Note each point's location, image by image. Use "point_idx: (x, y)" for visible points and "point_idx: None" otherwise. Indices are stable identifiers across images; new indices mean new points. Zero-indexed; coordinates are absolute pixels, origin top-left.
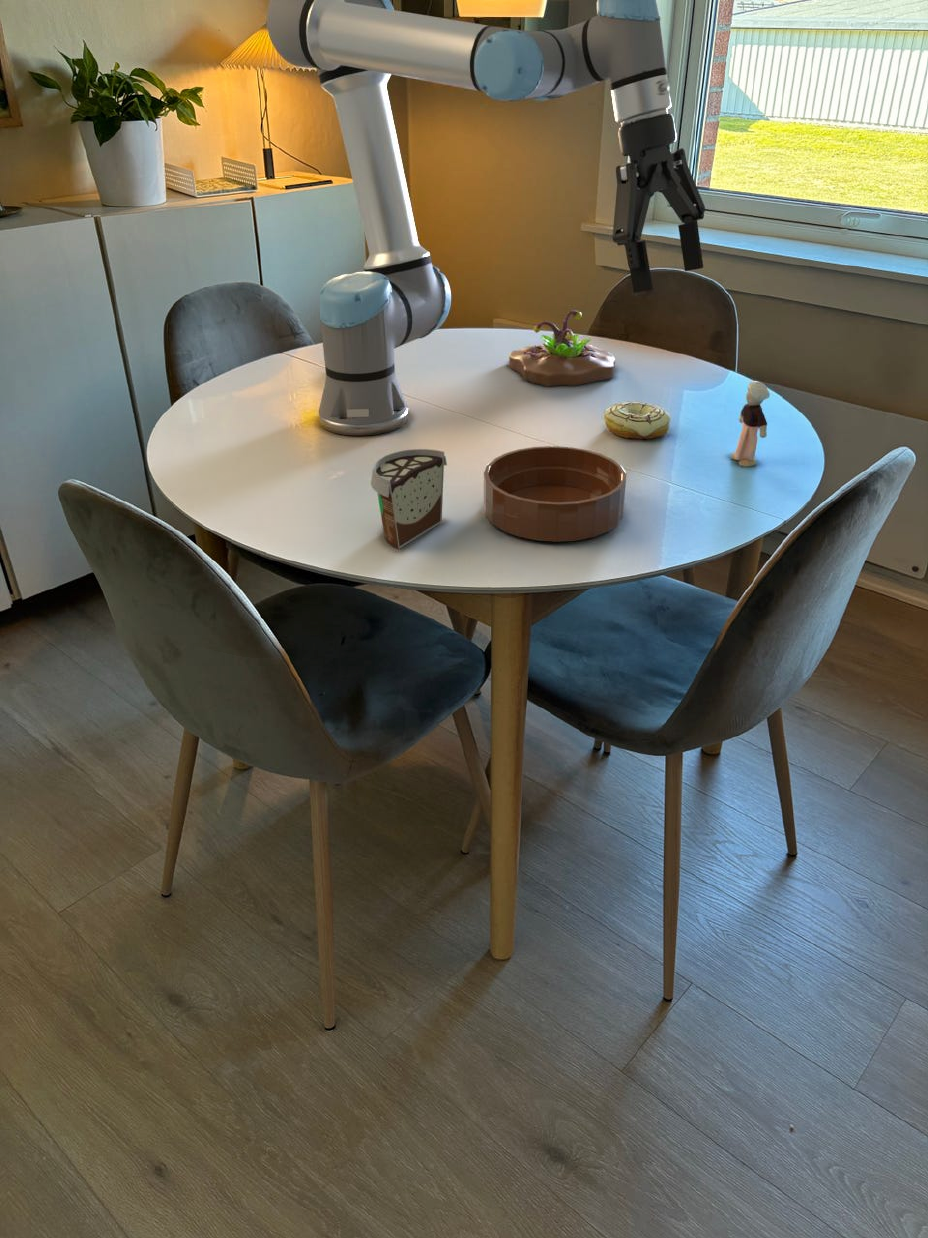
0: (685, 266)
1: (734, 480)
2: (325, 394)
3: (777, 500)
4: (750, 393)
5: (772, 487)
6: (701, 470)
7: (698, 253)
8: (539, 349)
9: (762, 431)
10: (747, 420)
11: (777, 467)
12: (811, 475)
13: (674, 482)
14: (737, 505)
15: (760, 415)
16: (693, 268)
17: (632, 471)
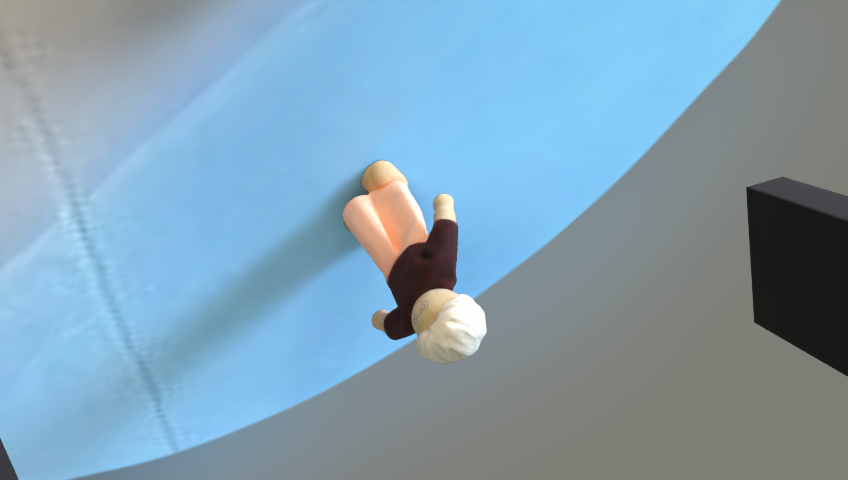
0: (770, 206)
1: (252, 275)
2: None
3: (248, 391)
4: (423, 329)
5: (298, 340)
6: (227, 187)
7: (837, 368)
8: None
9: (379, 327)
10: (395, 279)
11: None
12: None
13: (89, 210)
14: (141, 378)
15: (400, 334)
16: (756, 265)
17: (13, 77)
